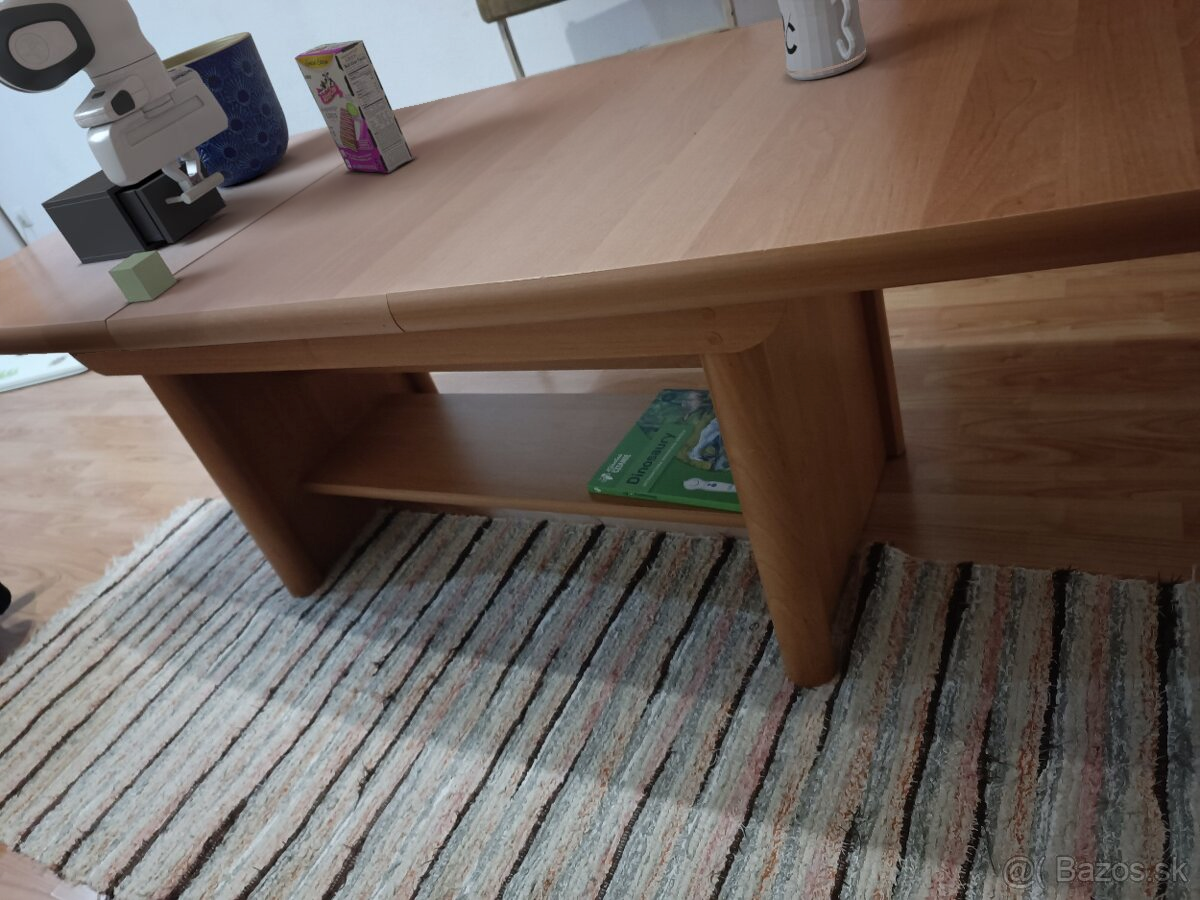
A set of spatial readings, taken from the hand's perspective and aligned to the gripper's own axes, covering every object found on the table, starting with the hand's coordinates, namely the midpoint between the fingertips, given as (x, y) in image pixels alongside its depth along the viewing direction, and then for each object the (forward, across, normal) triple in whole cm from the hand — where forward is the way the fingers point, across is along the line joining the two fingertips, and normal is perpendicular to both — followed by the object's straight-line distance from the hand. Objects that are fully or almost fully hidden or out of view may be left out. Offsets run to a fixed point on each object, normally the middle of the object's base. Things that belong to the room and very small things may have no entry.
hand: (196, 188), depth 120 cm
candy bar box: (+6, -14, +20) cm, 25 cm away
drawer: (+5, 0, -7) cm, 8 cm away
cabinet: (+6, 0, -16) cm, 17 cm away
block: (+6, +19, +6) cm, 21 cm away
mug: (+6, -18, +83) cm, 86 cm away
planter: (+6, -23, -14) cm, 27 cm away
